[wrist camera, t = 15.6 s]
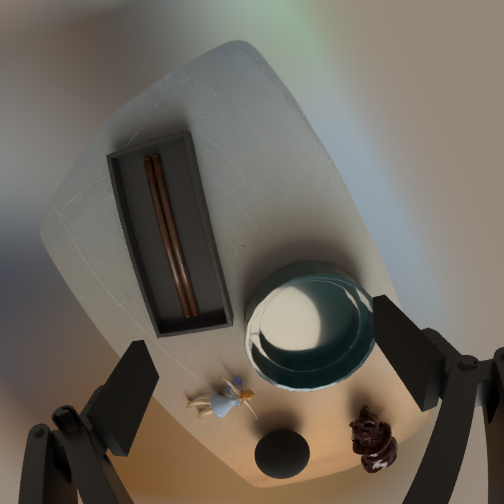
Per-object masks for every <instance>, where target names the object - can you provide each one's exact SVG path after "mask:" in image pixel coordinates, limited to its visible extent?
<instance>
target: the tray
mask: <svg viewBox="0 0 504 504" xmlns="http://www.w3.org/2000/svg"><path fill="white" fill-rule="evenodd" d="M153 154H159V155H160V159H161V164H162V169H163V173H164V178H165V183H166V187H167V191H168V196H169V200H170V204H171V209H172V213H173V217H174V221H175V225H176V229H177V233H178V237H179V241H180V245H181V249H182V253H183V256H184V260H185V264H186V268H187V271H188V275H189V278H190V282H191V286H192V289H193V293H194V296H195V299H196V303H197V306H198V310H199V316H197V317H194V316H193V315H192V313H191V317H190V318H185V317H184V314H183V311H182V308H181V305H180V301H179V298H178V295H177V292H176V288H175V285H174V281H173V278H172V275H171V271H170V268H169V264H168V261H167V257H166V253H165V250H164V246H163V242H162V238H161V234H160V231H159V227H158V223H157V219H156V215H155V210H154V206H153V202H152V198H151V193H150V189H149V185H148V180H147V175H146V171H145V166H144V161H143V160H144V158H145V157H146V156H150V157H151V159H152V156H153ZM106 157H107V162H108V167H109V172H110V177H111V182H112V187H113V191H114V196H115V200H116V204H117V209H118V213H119V217H120V221H121V225H122V228H123V232H124V236H125V240H126V243H127V247H128V250H129V254H130V257H131V261H132V264H133V268H134V271H135V274H136V277H137V280H138V284H139V287H140V290H141V293H142V296H143V299H144V302H145V305H146V308H147V311H148V313H149V316H150V319H151V322H152V325H153V327H154V330H155V333H156V335H157V338H161V337H169V336H176V335H182V334H189V333H195V332H202V331H208V330H214V329H220V328H225V327H231V326H233V317H234V316H233V312H232V308H231V304H230V300H229V296H228V292H227V289H226V285H225V281H224V277H223V272H222V268H221V264H220V260H219V256H218V252H217V248H216V244H215V239H214V235H213V231H212V227H211V222H210V218H209V214H208V209H207V205H206V201H205V196H204V192H203V187H202V183H201V178H200V173H199V169H198V164H197V160H196V155H195V150H194V145H193V140H192V136H191V133H189V132H188V131H187V130H186V131H182V132H178V133H175V134H171V135H168V136H164V137H161V138H157V139H154V140H151V141H147V142H144V143H141V144H138V145H135V146H132V147H129V148H126V149H123V150H120V151H117V152H114V153H111V154H109V155H106ZM152 164H153V162H152ZM153 169H154V167H153ZM154 173H155V171H154ZM155 178H156V176H155ZM156 182H157V181H156ZM157 187H158V185H157ZM158 191H159V190H158ZM159 196H160V194H159ZM160 200H161V198H160ZM161 204H162V203H161ZM162 209H163V207H162ZM163 213H164V211H163ZM164 217H165V215H164ZM165 221H166V219H165ZM166 225H167V223H166ZM167 229H168V227H167ZM168 233H169V231H168ZM169 237H170V235H169ZM170 241H171V239H170ZM171 244H172V243H171ZM172 248H173V247H172ZM173 252H174V250H173ZM174 256H175V254H174ZM175 259H176V258H175ZM176 263H177V262H176ZM177 267H178V265H177ZM178 270H179V269H178ZM179 274H180V272H179ZM180 277H181V276H180ZM181 281H182V279H181ZM182 284H183V283H182ZM183 288H184V286H183ZM184 291H185V290H184ZM185 294H186V293H185ZM186 298H187V297H186ZM187 301H188V300H187ZM188 304H189V303H188ZM189 308H190V306H189ZM190 311H191V310H190Z"/></svg>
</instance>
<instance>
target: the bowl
mask: <svg viewBox="0 0 504 504" xmlns="http://www.w3.org/2000/svg"><path fill="white" fill-rule="evenodd" d="M374 345H375V340H374V329H373V303H372V297H371V296H370V295H369V294H368V293H367V292H366V291H365V290H364V289H363V288H362V287H361V286H360V285H359V284H358V283H357V282H356V281H355V280H354V279H353V278H352V277H351V276H350V275H349V274H348V273H347V272H346V271H345V270H343V269H340V268H338V267H336V266H334V265H332V264H330V263H323V262H313V261H306V262H302V263H297V264H292V265H288V266H286V267H284V268H283V269H281V270H279V271H277V272H275V273H273V274H272V275H270V276H269V277H268V278H267V279H266V280H265V281H264V282H263V283H262V284H261V285H260V286H259V287H258V288H257V289H256V290H255V292H254V294H253V296H252V298H251V300H250V302H249V304H248V306H247V309H246V318H245V348H246V352H247V355H248V359H249V362H250V363H251V365H252V366H253V368H254V369H255V370H256V372H257V373H258V374H259V376H260V377H262V378H263V379H265V380H266V381H268V382H269V383H271V384H272V385H274V386H276V387H280V388H283V389H286V390H290V391H316V390H320V389H324V388H328V387H331V386H333V385H335V384H337V383H339V382H341V381H343V380H345V379H347V378H348V377H349V376H351V375H352V374H353V373H354V372H355V371H356V370H357V369H359V368H360V367H361V366H362V365H363V364H364V362H365V361H366V359H367V358H368V356H369V355H370V353H371V352H372V350H373V348H374Z"/></svg>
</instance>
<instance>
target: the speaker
mask: <svg viewBox="0 0 504 504" xmlns="http://www.w3.org/2000/svg"><path fill="white" fill-rule="evenodd" d="M309 457H310V450H309V446H308V443H307V442H306V440H305V439H304V438H303V437H302V436H301V435H300V434H298V433H296V432H294V431H291V430H284V429H282V430H275V431H272V432H270V433H268V434H266V435H265V436H264V437H262V438H261V440H260V441H259V442H258V444H257V446H256V449H255V461H256V464H257V466H258V467H259V469H260V470H261V471H262V472H263V473H264V474H266V475H268V476H270V477H273V478H277V479H285V478H290V477H293V476H295V475H297V474H298V473H300V472H301V471H302V470H303V469H304V468H305V467H306V465H307V463H308V461H309Z"/></svg>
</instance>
